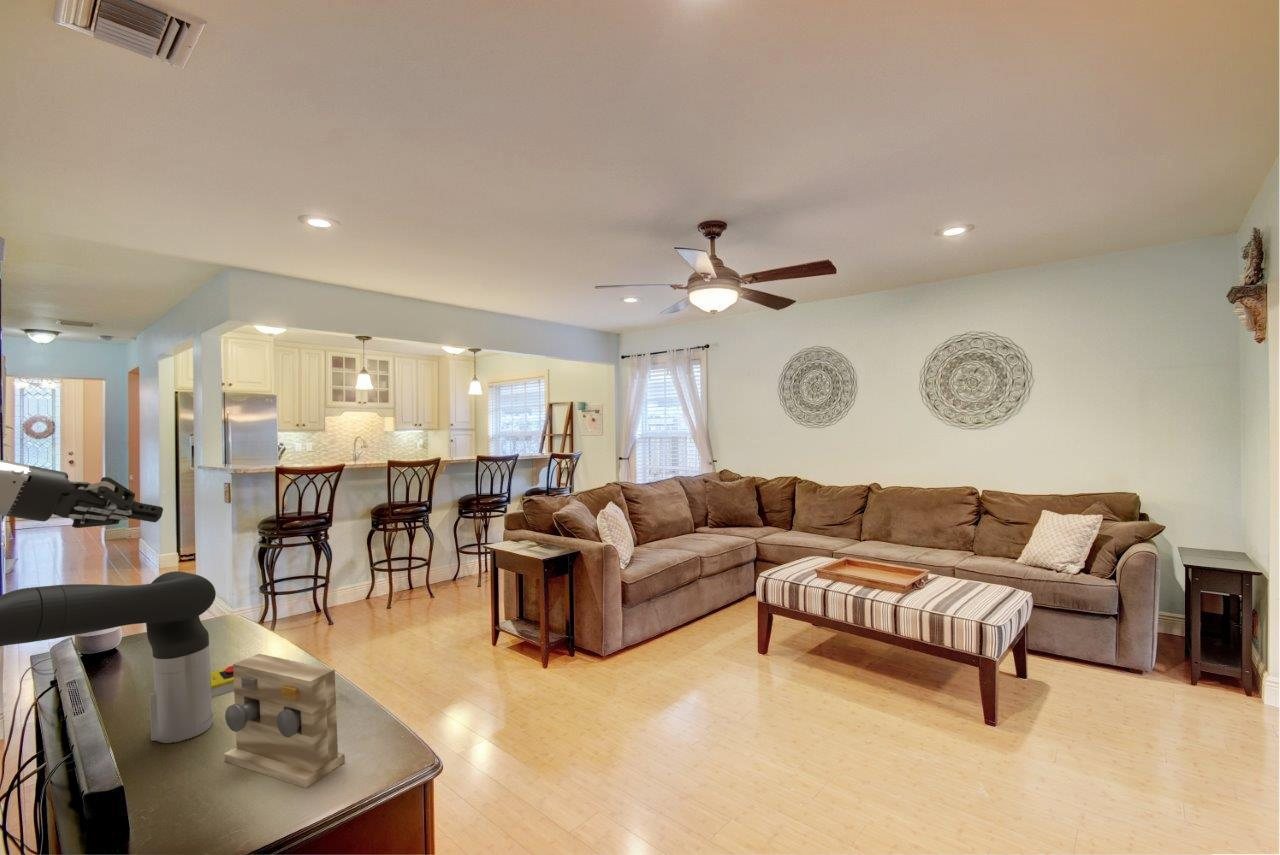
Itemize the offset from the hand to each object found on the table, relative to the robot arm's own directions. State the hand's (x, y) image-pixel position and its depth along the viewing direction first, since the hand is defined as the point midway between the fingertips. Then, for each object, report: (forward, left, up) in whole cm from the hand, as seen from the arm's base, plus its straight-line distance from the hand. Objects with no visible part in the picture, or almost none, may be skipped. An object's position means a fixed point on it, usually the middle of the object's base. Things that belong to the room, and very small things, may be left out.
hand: (160, 514), depth 96 cm
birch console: (+13, +11, -49) cm, 52 cm away
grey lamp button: (+6, +11, -42) cm, 44 cm away
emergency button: (-16, +47, -50) cm, 71 cm away
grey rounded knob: (+17, +7, -42) cm, 46 cm away
